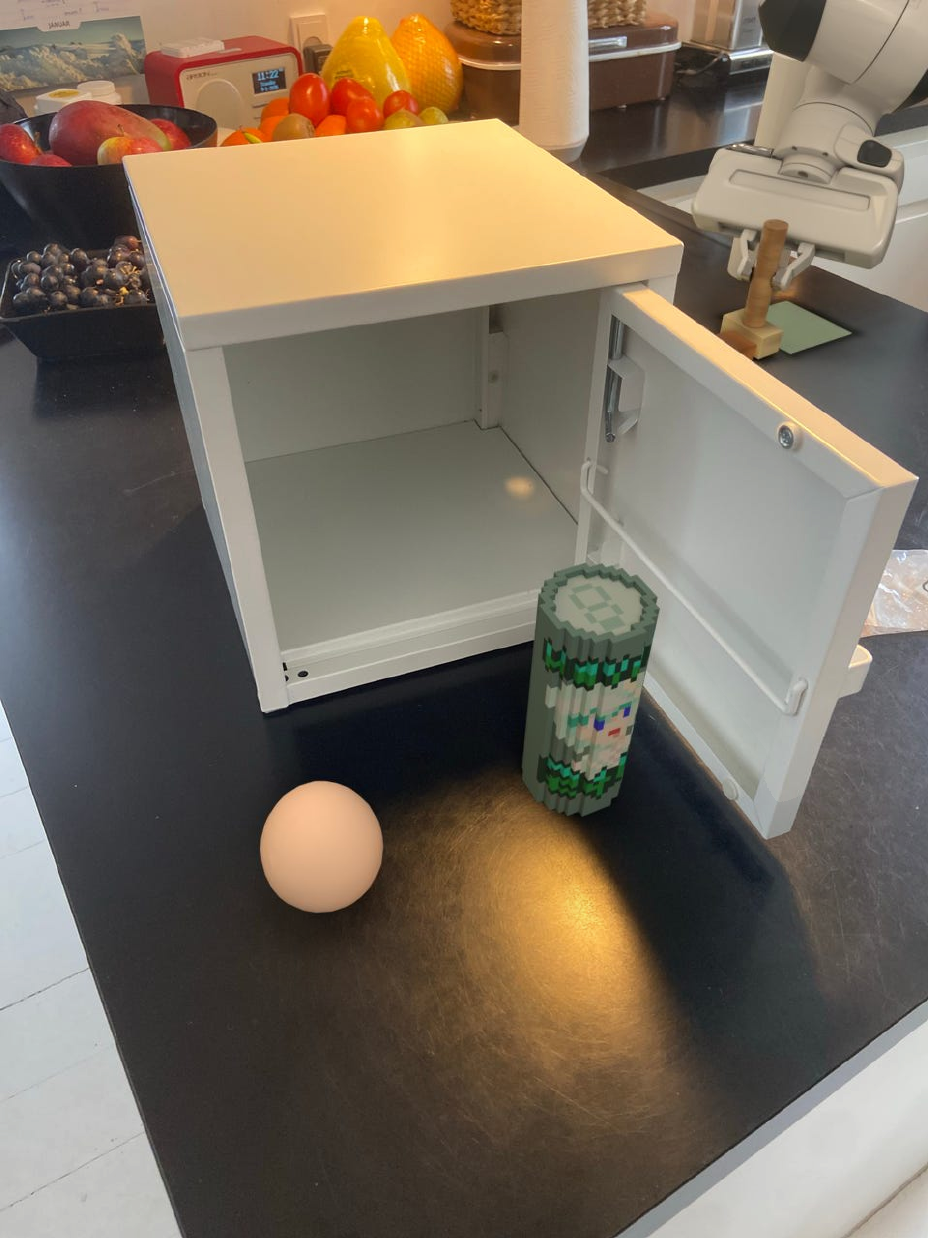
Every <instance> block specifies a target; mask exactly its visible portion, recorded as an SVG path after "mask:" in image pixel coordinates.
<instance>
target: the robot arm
mask: <svg viewBox="0 0 928 1238" xmlns="http://www.w3.org/2000/svg"><path fill="white" fill-rule="evenodd" d="M757 13H758V19H759V24H760V28H761V32H762V34H763V37H764V40H765V42H766V44H767V46H768V48H769V50H770V51H772V52H773V53H774V52H777V53H780V54H782V55H785V56H788V57H790V58H793V59H796V60H798V61H801V62H804V61H805V62H807V63H809V64H811V65H812V66H811V68H810V71H809V73H808V75H807V78H806V81H805V88H804V93H803V95H802V98H801V99H800V101H799V102H798V103H797V104H796V106H795V107H794V108H793V110H792V111H791V113H790V115H789V117H788V120H787V122H786V124H785V126H784V128H783V131H782V133H781V135H780V137H779V140H778V142H777V144H776V146H775V149H773V148H768V147H762V146H754V145H751V144H747V143H746V142H741V141H735V142H733V143H732V144H729V145H725V146H723V147H721V148H719V149H717V150H716V152H715V154H714V155H713V157H712V160H711V162H710V164H709V166H708V170H707V174H706V176H705V177H704V179H703V180H702V182H701V184H700V186H699V188H698V190H697V191H696V193H695V195H694V197H693V199H692V202H691V205H690V209H691V211H690V212H691V215H692V218H693V221H694V224H695V226H696V228H697V229H698V230H702V231H706V232H709V233H713V234H719V235H722V236H727V237H731V238H734V237H735V238H739V239H740V245H741V254H742V261H741V263H740V265H739V267H738V270H737V273H736V276H737V278H736V280H738V281H742V282H745V283H749V284H750V283H751V279H752V274H753V270H754V265H755V260H752V259H750V258H749V249H750V251H755V249H756V246H757V244H758V243H760V238H761V234H762V229H763V225H764V222H765V221H767V220H770V219H778V220H782V221H785V222H787V223H788V225H789V227H788V231H787V235H786V239H785V243H784V248H783V249H786V250H790V251H791V252H795V253H796V256H797V257H796V258H795V259H794V260H793V261H792V262H791V263H789V264H788V266H787V267H786V268H784V267H780V266H778V268H777V270H776V275H775V276H774V277H773V279H772V283H771V285H772V288H773V290H777V291H780V292H784V293H787V291H788V289H789V287H790V285H791V282H792V280H793V278H796V277H797V276H798V275H799V274H801V273H802V272H804V271H805V270H806V269H808V268H809V267H810V266H811V265H812V262H813V261H814V259H815V258H818V259H819V258H820V259H824V260H827V261H833V262H836V263H841V264H845V265H849V266H853V267H857V268H862V269H866V270H872V269H873V268H875V267H877V266H878V265H880V264H881V263H883V261H884V259H885V257H886V254H887V252H888V249H889V247H890V244H891V241H892V238H893V234H894V230H895V227H896V226H895V225H896V221H897V216H898V206H899V196H900V194H901V191H902V188H903V186H904V185H903V184H904V180H905V157H904V155H903V154H902V152H900V150H897V149H895V148H894V147H892V146H890V145H888V144H886V143H885V142H883V141H881V140H879V139H878V138H876V137H875V133H876V128H877V125H878V124H879V121H880V120H881V118H882V117H883V116H884V115H886V114H889V115H894V114H897V113H900V112H902V111H904V110H907V109H908V108H910V107H911V108H912V107H913V106H915V105H917V104H919V103H922V102H924V101H925V100H927V99H928V0H760V1H759V4H758V7H757Z"/></svg>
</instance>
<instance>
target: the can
mask: <svg viewBox="0 0 928 1238" xmlns="http://www.w3.org/2000/svg"><path fill="white" fill-rule="evenodd" d="M658 597H659V596H657V595H656V594H655V592H654V591H653V590H651V588H650V587H649V586H648V585H647V584H646V583H645V581H644V580H643V579H642V578H641V577H640V576H639V575H638V574H634V575H630V574H629V573H628V572H627V571H626V570H625V569H624V568H623V567H621V568H617V569H616V568H615V566H613V565H609V566H606V565H604V563H603V562H601V563H598V564H595V565H590V566H589V564H588V563H587V562H583V563H579V564H576V565H574V566H570V567H566V568H563V569H560V570H556V571H554V572H553V577H552V578H548V579H544V583H543V586H541V589H540V592H539V593H538V596H537V607H536V615H535V616H536V617H535V624H534V625H535V627H534V636H533V648H532V655H531V657H532V658H531V667H530V678H529V686H528V687H529V688H528V698H527V709H526V718H525V730H524V738H523V739H524V740H523V748H522V750H523V751H522V759H521V760H522V761H521V769H522V775H521V780H522V782H523V783H524V785H525V787H526V788H527V790H528V791H529V793H530V795H531V796H532V798H533V799H534V801H535V803H536V804H538V803H542V802H543V804H544V805H545V807H546V808H547V810H548V811H549V812H550V811H552V810H555V811H556V813H557V814H561V813H564V814H565V816H566V817H569V816H572V815H574V814H576V813H578V814H579V815H580V816H581V817H584V816H587V815H589V814H592V813H595V812H597V811H599V810H602V809H605V808H607V807H609V806H611V801H612V799H614V798H616V797H618V796H619V791H620V788H621V785H622V781H623V777H624V773H625V767H626V764H627V758H628V755H629V751H630V745H631V741H632V736H633V733H634V732H633V731H634V728H635V723H636V718H637V714H638V710H639V706H640V700H641V695H642V691H643V688H644V687H643V686H644V682H645V678H646V674H647V668H648V664H649V659H650V655H651V651H652V646H653V643H654V638H655V632H656V629H657V628H656V627H657V623H658V619H659V615H660V610H661V608H660V607H659V605H658V604H657V602H658Z"/></svg>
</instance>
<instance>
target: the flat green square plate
mask: <svg viewBox="0 0 928 1238" xmlns="http://www.w3.org/2000/svg"><path fill="white" fill-rule="evenodd" d="M766 321H768V322H770V323H771V324H773V325H775V326H777V327H778V328H780V329H782V330H783V335H782V339H781V343H780V347H779V350H781V351H783V352H784V353H785V352H786V353H787V354H789V355H793V354H795V353H798V352H801V351H804V350H807V349H810V348H813V347H816V346H819V345H821V344H825V343H829V342H831V341H834V340H838V339H840V338H844V337H846V336H849V335H851V334H853V333H852V332H851V331H849V330H847V329H845V328H842V327H841V326H839V325H837V324H835V323H833V322H831V321H829V320H827V319H824V318H823V317H820V316H819V315H816V314H815V313H812V312H811V311H808V310H807V309H804V308H803V307H801V306H799V305H796V304H794V303H792V302H791V301H788V300H784V301H780V302H777V303H773V304H770V305H769V309H768V313H767V318H766Z"/></svg>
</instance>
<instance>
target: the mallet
mask: <svg viewBox="0 0 928 1238" xmlns="http://www.w3.org/2000/svg"><path fill="white" fill-rule="evenodd" d="M788 227H789V225H788V223H787V222H785V221H782V220H778V219H770V220H767V221H765V222H764V225H763V229H762V234H761V238H760V243H759V247H758V252H757V256H756V261H755V265H754V270H753V274H752V279H751V283H749V289H748V291H747V292H748V293H747V297H746V302H745V305H744V307H743V308H740V309H737V310H734V311H731V312H728V313H725V314H723V316H722V318H723V319H722V321H721V322H722V323H721V327H720V332H719V333H722V332H725V331H729V330H732V331H733V332H735V333H737V334H739V335H741V336H742V337H744V338H746V339H748V340H749V341H751V342H753V343H755V344H756V349H755V353H754V357H753V358H755V359H757V360H760V359H763V358H765V357H768V356H770V355H773V354H775V353H779V351H780V348H779V347H780V343H781V339H782V335H783V330H782V329H780V328H778V327H777V326H775V325H773V324H771V323H770V322H768V321H766V318H767V313H768V309H769V306H770V305H771V301H772V296H773V292H774V289H773V288H772V285H771V283H772V279H773V277H774V276H775V275H776V270H777V268H778V266H779V264H780V260H781V256H782V252H783V248H784V243H785V239H786V235H787V231H788Z"/></svg>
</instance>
